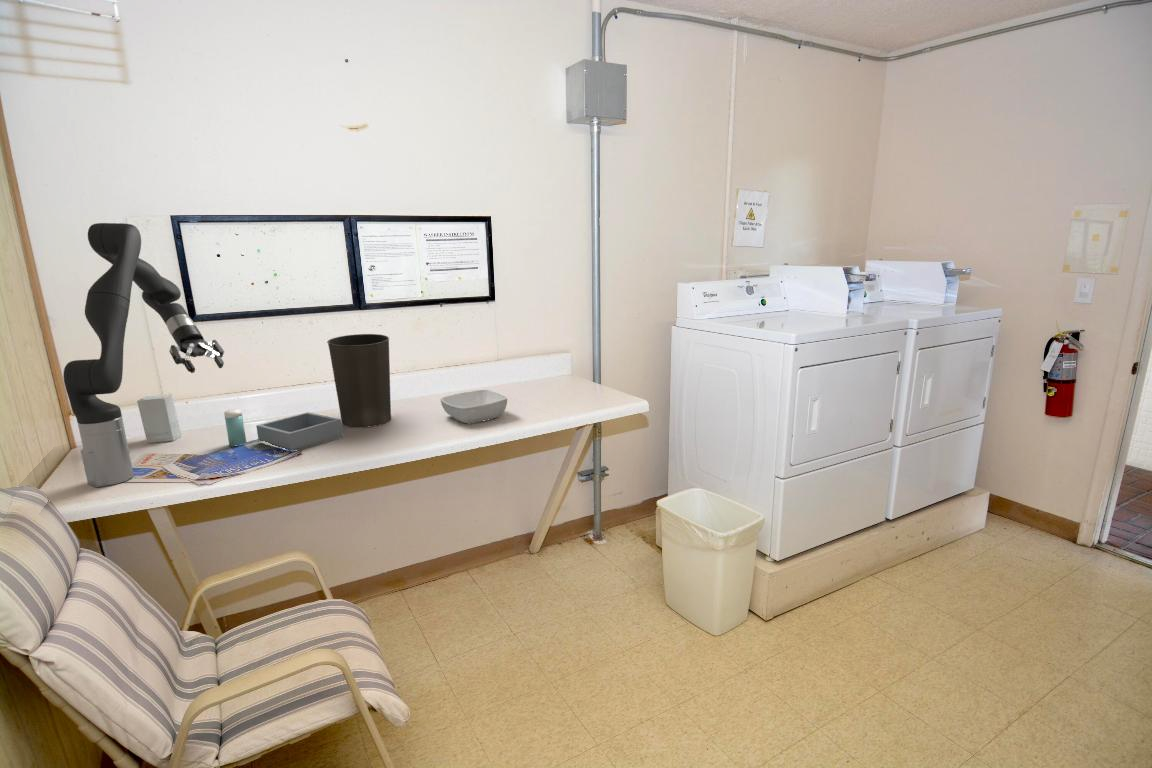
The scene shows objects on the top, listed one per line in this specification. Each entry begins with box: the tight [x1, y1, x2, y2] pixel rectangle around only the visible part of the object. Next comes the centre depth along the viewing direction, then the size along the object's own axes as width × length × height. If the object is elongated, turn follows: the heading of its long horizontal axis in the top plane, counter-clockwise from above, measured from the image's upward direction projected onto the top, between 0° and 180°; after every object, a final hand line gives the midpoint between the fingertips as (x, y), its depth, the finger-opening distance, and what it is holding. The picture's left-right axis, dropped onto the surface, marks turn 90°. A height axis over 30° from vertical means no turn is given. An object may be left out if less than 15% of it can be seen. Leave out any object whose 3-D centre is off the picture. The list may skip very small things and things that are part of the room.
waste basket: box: [327, 333, 392, 428], centre depth 205 cm, size 27×20×30 cm
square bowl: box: [439, 389, 508, 424], centre depth 210 cm, size 20×20×8 cm
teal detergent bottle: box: [223, 408, 247, 447], centre depth 184 cm, size 5×5×11 cm
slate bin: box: [256, 411, 343, 451], centre depth 188 cm, size 18×18×6 cm
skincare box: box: [136, 393, 182, 444], centre depth 190 cm, size 8×6×15 cm
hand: (207, 368), depth 186 cm, fingers open, 8 cm apart
